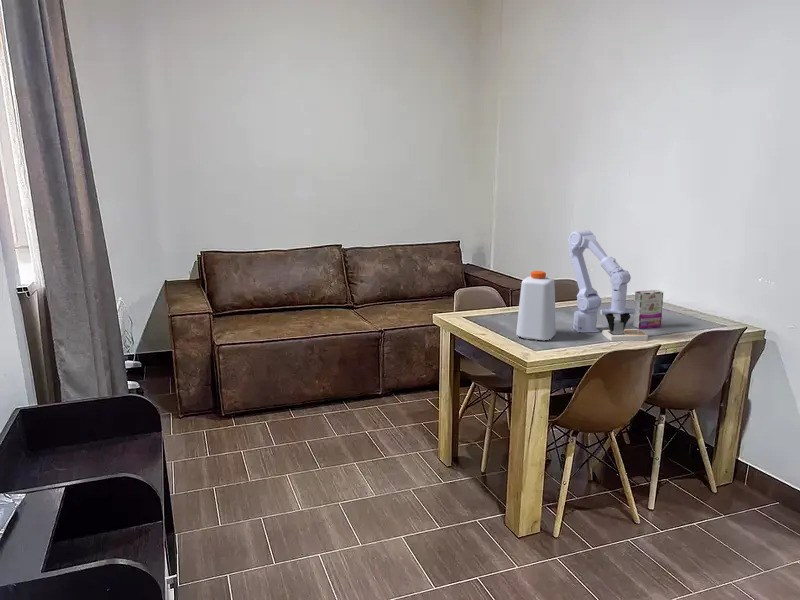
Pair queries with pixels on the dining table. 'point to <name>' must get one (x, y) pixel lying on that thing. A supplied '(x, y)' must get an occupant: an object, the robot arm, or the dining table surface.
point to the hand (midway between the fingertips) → (616, 330)
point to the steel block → (617, 328)
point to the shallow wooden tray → (626, 335)
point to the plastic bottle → (537, 307)
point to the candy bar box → (648, 309)
